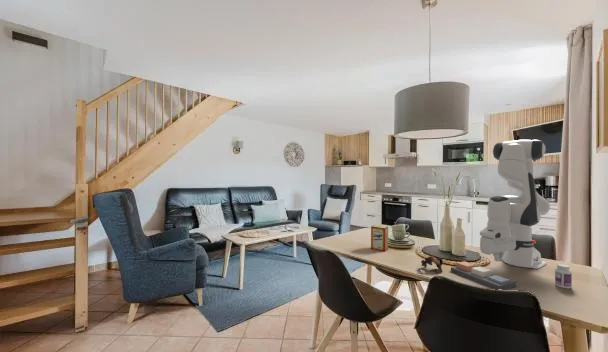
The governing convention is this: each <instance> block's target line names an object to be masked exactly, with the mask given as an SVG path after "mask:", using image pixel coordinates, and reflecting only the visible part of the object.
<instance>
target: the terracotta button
mask: <svg viewBox="0 0 608 352" xmlns="http://www.w3.org/2000/svg"><path fill="white" fill-rule="evenodd" d="M456 266H457V268H459V269H462V270H464V271H467V272H468V271H472V268H474V267H476V265H475V264H473V263H470V262H467V261H466V260H464V261H460V262H458V261H457V262H456Z"/></svg>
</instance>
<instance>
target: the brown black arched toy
mask: <svg viewBox="0 0 608 352" xmlns="http://www.w3.org/2000/svg"><path fill="white" fill-rule="evenodd" d="M443 262H444V261H443V259H442V258H441V257H437V258H436V257H434V256H432V255H431V256H428V257H426V258H424V259H422V260H421V261H420V263H421V267H424V268H427V266H428V265H430V266H433V263H434V264H435V265H436V273H437V274H440V273H442V272H443V268H442V266H443V264H444V263H443Z"/></svg>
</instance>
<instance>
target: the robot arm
mask: <svg viewBox="0 0 608 352" xmlns="http://www.w3.org/2000/svg"><path fill="white" fill-rule="evenodd" d="M546 151H547V150H546V145H545V143H544V142H543V140H539V139H532V140H531V139H518V140H509V141H500V142H496V144H494V146H493V147H492V154H493V158H494V159H495V160H497V161H498V162H497V163H498V164H497V174H498V175H499V176H500V177H501V178H502V179H503V180H505V181H507V185H508V187H509V188H511V189H512V190H515V191H517V192H519V193H520V195H497V196H492V197H490V198H489V199H488V203H487V210H486V211H487V213H486V216H487V218H488V220H487V223H486V226H485V228H483V229H481V230H480V232H479V236H481V237H480V240H479V249H480V252H481V253H482V254H485V255H487V256H488V255H492V256H493V258H494V262H501V261H503V262H504V263H506V264H508V265H511V266H516V267H521V268H529V269H536V270H537V269H538V270H539V269H541V268H543V267H544V266H546V265H547V264H548V263H547V262H546V261H544V260H542V255H541V252H540V251H539V250H537V249H536V248H535V246H534V245H535V244H536V243H537V241H536V239H534V240H533V238H532V235H533V234H532V233H533V232H532V230H533V229H532V227H533V226H535V225H538V224H539V223H540V221H541V216H546V215H547V214H548V213H549V212H550V209H551V205H550V203H549V201H548V199H546V198H545V197H543V196H542V195H540V194H539V193H538V192H537V189H536V183H535V178H534V162H536V161H538V160H540V159H542V158H543V157H544V155H545V153H546Z"/></svg>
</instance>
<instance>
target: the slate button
mask: <svg viewBox="0 0 608 352" xmlns="http://www.w3.org/2000/svg"><path fill="white" fill-rule="evenodd" d="M497 275H498V274H495V275H494V276H490V277H488V279H489V280H491V281H494V282H497V283H499V284H505V283H509V278H507V279H506V277H504V278H503V276H501V277H500V275H498V276H497Z"/></svg>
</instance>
